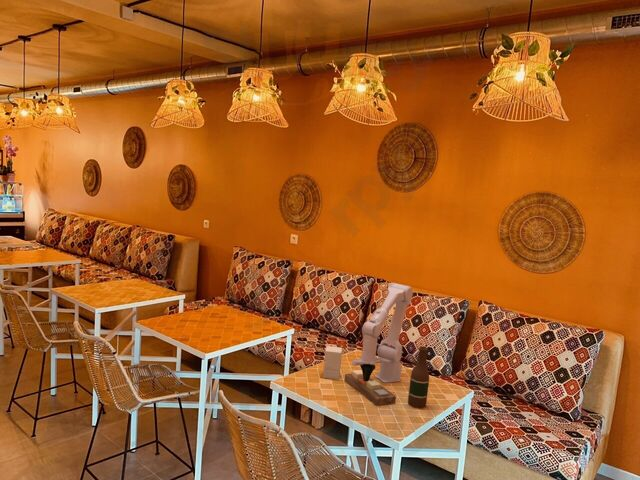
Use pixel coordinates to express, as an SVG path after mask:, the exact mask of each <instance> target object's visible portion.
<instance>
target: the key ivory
mask: <svg viewBox="0 0 640 480" xmlns="http://www.w3.org/2000/svg"><path fill="white" fill-rule="evenodd" d="M351 373H352V376H353V377H354V378H356V379H363V373H362V369H359V370H358V369H357V370H352V371H351Z"/></svg>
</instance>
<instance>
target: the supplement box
mask: <svg viewBox="0 0 640 480" xmlns="http://www.w3.org/2000/svg"><path fill="white" fill-rule="evenodd" d="M342 353H343V347H338V346H329V345H326V348H325V353H324V362H323V364H324V365H323V373H322V374H323V376H322V378H323V379H329V380H340V375H341V366H342V365H341V364H342V357H343V356H342V355H343V354H342Z"/></svg>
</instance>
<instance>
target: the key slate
mask: <svg viewBox="0 0 640 480" xmlns="http://www.w3.org/2000/svg"><path fill="white" fill-rule="evenodd" d="M374 393H375V394H377V395H378V396H379V397H384V396H389V393H388V392H386V391H385V390H383V389H380V390H374Z"/></svg>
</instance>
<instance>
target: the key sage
mask: <svg viewBox="0 0 640 480" xmlns="http://www.w3.org/2000/svg"><path fill="white" fill-rule="evenodd" d="M381 386H382V384H381V383H380V382H378V381H377V380H374V381H367V383H366V387H367V388H369V389H370V390H371V391H372V390H380V389H381Z"/></svg>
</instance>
